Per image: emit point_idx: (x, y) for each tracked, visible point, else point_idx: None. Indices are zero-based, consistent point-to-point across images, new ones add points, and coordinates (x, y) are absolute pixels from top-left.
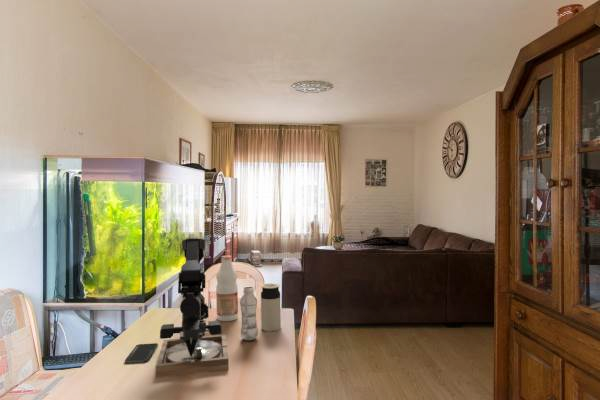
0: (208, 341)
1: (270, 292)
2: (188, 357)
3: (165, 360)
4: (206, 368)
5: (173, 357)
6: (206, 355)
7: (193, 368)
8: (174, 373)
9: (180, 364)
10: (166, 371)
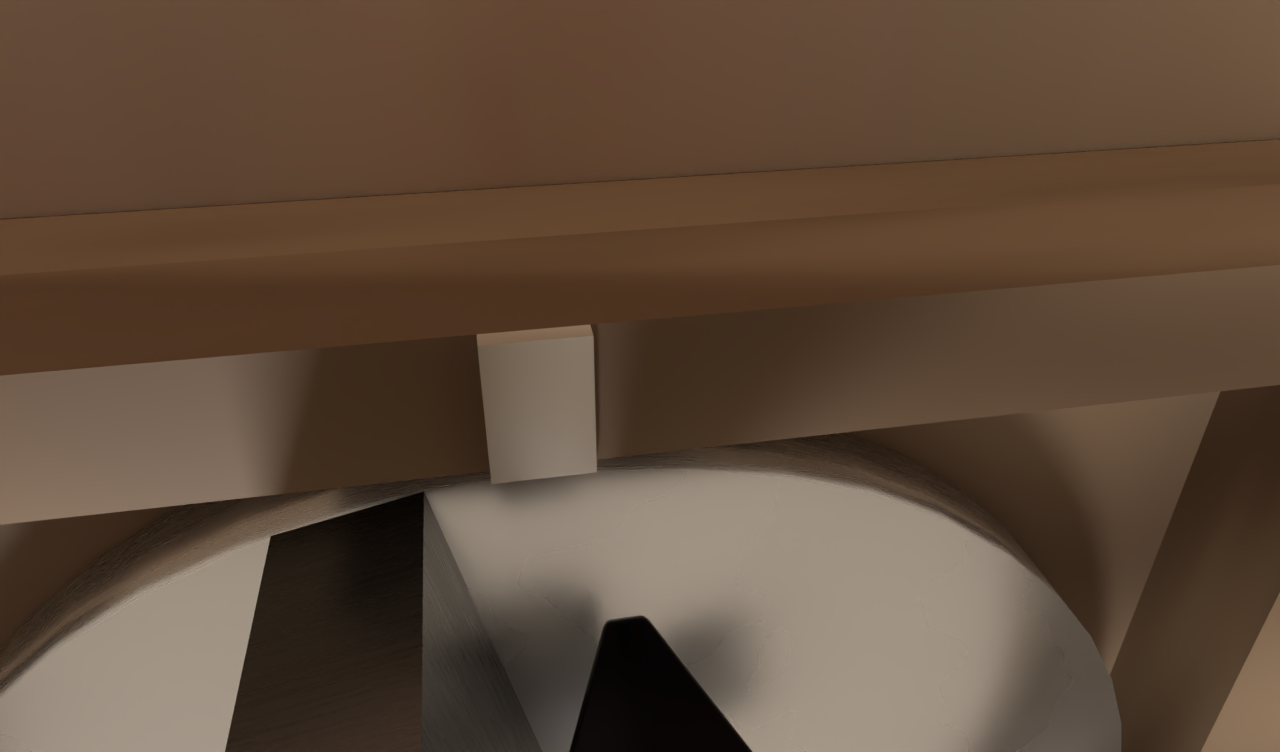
0: None
1: None
2: None
3: None
4: (110, 250)
5: (1013, 681)
6: (198, 748)
7: (501, 240)
8: (965, 174)
9: (915, 283)
10: (1182, 192)
